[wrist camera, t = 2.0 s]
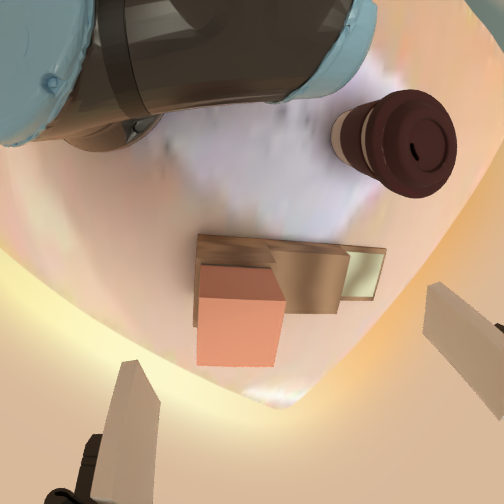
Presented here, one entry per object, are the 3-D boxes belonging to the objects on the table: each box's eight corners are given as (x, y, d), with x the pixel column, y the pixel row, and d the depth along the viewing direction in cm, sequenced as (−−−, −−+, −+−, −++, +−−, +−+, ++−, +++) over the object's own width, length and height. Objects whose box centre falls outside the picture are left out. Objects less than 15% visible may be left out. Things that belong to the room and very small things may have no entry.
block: (197, 323, 34) (196, 365, 27) (200, 263, 31) (199, 297, 25) (261, 325, 35) (273, 366, 28) (270, 267, 32) (286, 301, 26)
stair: (194, 293, 41) (192, 327, 34) (198, 234, 38) (195, 258, 31) (371, 299, 45) (396, 327, 38) (385, 248, 42) (415, 270, 35)
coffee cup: (391, 106, 36) (470, 103, 22) (386, 179, 39) (461, 206, 25) (320, 94, 34) (384, 76, 20) (316, 174, 38) (376, 198, 24)
